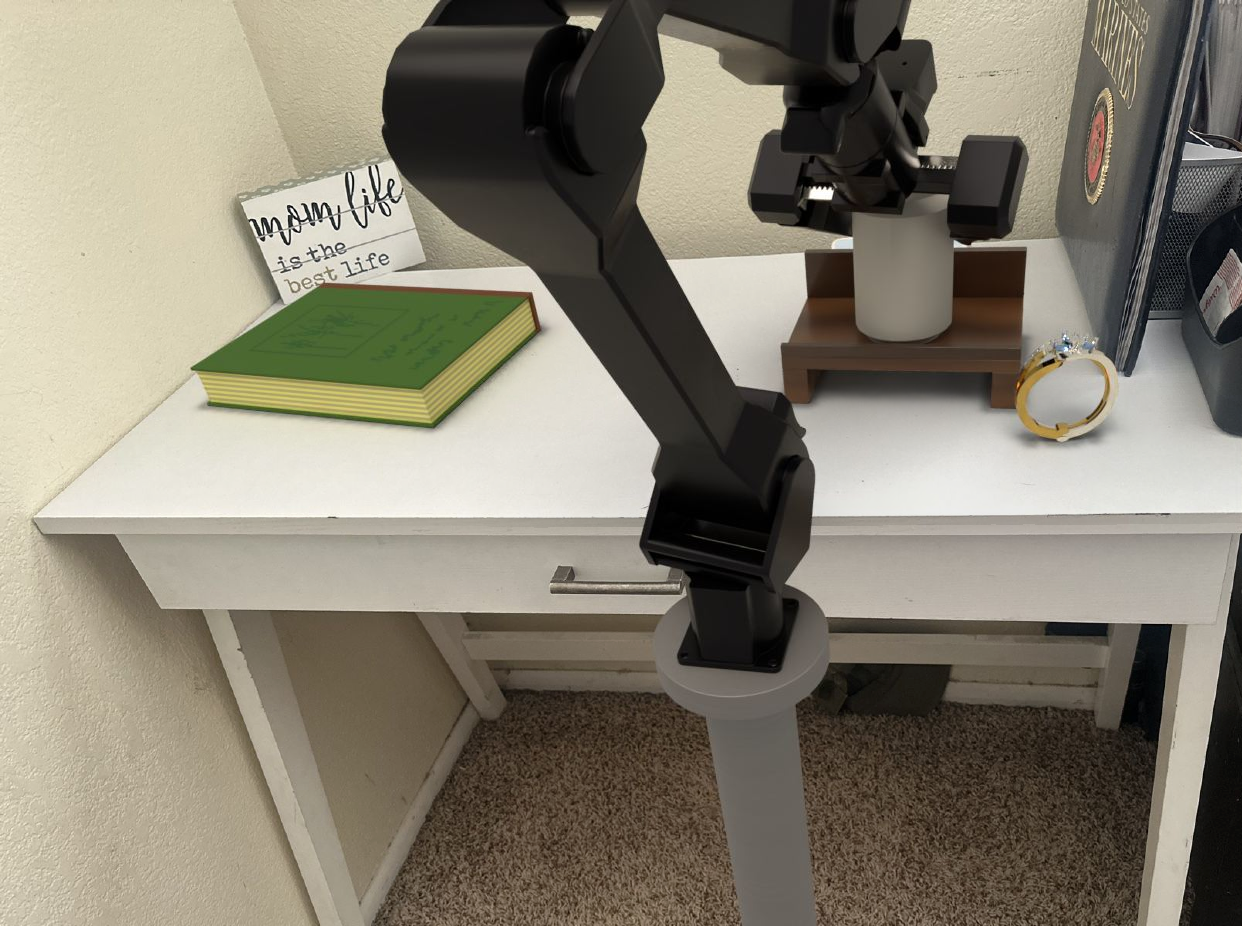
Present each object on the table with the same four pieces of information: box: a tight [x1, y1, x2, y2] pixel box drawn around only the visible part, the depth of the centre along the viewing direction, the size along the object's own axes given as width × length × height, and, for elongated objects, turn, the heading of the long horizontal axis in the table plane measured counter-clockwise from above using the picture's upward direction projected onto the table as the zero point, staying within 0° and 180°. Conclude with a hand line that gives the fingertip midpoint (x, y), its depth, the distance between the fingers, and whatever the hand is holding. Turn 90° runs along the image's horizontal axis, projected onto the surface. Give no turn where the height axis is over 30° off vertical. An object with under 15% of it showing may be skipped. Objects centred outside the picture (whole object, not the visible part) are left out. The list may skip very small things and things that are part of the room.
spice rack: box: [779, 246, 1028, 409], centre depth 81 cm, size 12×18×8 cm, turn 76°
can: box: [852, 193, 954, 344], centre depth 77 cm, size 8×8×12 cm
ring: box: [1014, 329, 1120, 443], centre depth 71 cm, size 7×3×8 cm, turn 86°
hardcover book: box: [189, 282, 542, 429], centre depth 94 cm, size 25×19×4 cm
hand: (910, 235), depth 77 cm, fingers open, 9 cm apart
